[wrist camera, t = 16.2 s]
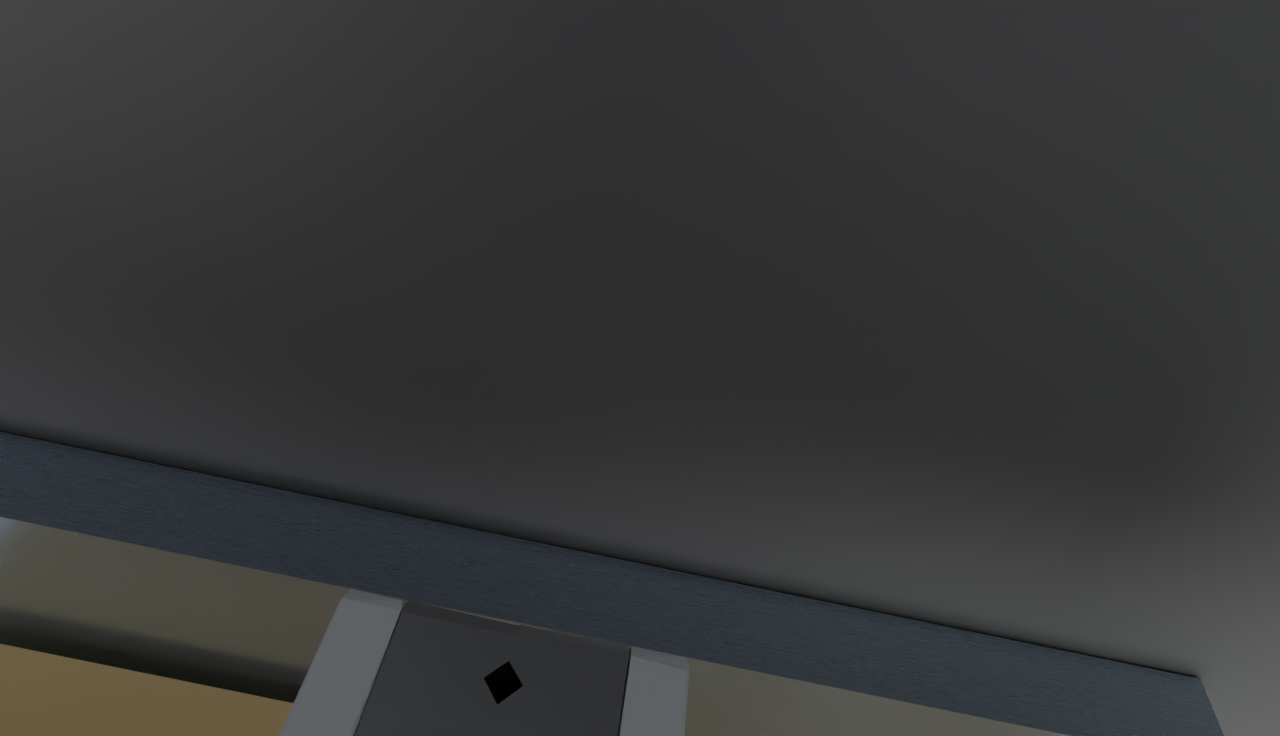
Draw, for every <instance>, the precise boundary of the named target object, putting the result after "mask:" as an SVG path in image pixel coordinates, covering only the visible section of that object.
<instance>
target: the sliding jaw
mask: <svg viewBox="0 0 1280 736" xmlns="http://www.w3.org/2000/svg"><path fill="white" fill-rule="evenodd" d="M292 705H293V703H290V702H285V701H280V700H275V699H270V698H265V697H260V696H255V695H251V694H246V693H241V692H236V691H231V690H226V689H221V688H216V687H211V686H206V685H201V684H196V683H191V682H186V681H181V680H177V679H172V678H167V677H162V676H157V675H152V674H147V673H142V672H137V671H132V670H127V669H122V668H117V667H112V666H107V665H103V664H98V663H93V662H88V661H83V660H78V659H73V658H68V657H63V656H58V655H53V654H48V653H43V652H38V651H33V650H29V649H24V648H19V647H14V646H9V645H4V644H0V736H279V734H280V732H281V730H282V727H283V725H284V723H285V721H286V719H287V716H288V714H289V712H290V710H291V708H292Z"/></svg>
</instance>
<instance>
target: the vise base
mask: <svg viewBox="0 0 1280 736" xmlns="http://www.w3.org/2000/svg"><path fill="white" fill-rule="evenodd" d="M351 588H352V589H357V590H361V591H365V592H370V593H374V594H379V595H383V596H387V597H392V598H396V599H401V600H405V601H408V600H409V601H414V602H418V603H422V604H427V605H431V606H435V607H440V608H444V609H448V610H453V611H457V612H461V613H466V614H470V615H475V616H479V617H483V618H488V619H492V620H496V621H501V622H505V623H509V624H514V625H518V626H519V624H520V625H525V626H530V627H535V628H541V629H546V630H551V631H556V632H561V633H567V634H572V635H577V636H582V637H587V638H593V639H598V640H603V641H608V642H614V643H619V644H624V645H629V649H630V648H631V646H632V647H638V648H643V649H648V650H653V651H658V652H663V653H668V654H673V655H678V656H683V657H686V658H687V661H688V664H689V667H690V669H689V682H688V695H687V708H686V721H685V734H684V736H1224V735H1223V733H1222V730H1221V728H1220V725H1219V723H1218V721H1217V718H1216V716H1215V713H1214V711H1213V708H1212V706H1211V704H1210V701H1209V699H1208V696H1207V694H1206V691H1205V689H1204V687H1203V684H1202V682H1201V679H1199V678H1194V677H1189V676H1184V675H1180V674H1175V673H1170V672H1165V671H1160V670H1155V669H1150V668H1145V667H1141V666H1136V665H1131V664H1126V663H1121V662H1116V661H1111V660H1107V659H1102V658H1097V657H1092V656H1087V655H1082V654H1077V653H1073V652H1068V651H1063V650H1058V649H1053V648H1048V647H1043V646H1039V645H1034V644H1029V643H1024V642H1019V641H1014V640H1009V639H1004V638H1000V637H995V636H990V635H985V634H980V633H975V632H970V631H966V630H961V629H956V628H951V627H946V626H941V625H936V624H932V623H927V622H922V621H917V620H912V619H907V618H902V617H898V616H893V615H888V614H883V613H878V612H873V611H868V610H863V609H859V608H854V607H849V606H844V605H839V604H834V603H829V602H825V601H820V600H815V599H810V598H805V597H800V596H795V595H791V594H786V593H781V592H776V591H771V590H766V589H761V588H757V587H752V586H747V585H742V584H737V583H732V582H727V581H722V580H718V579H713V578H708V577H703V576H698V575H693V574H688V573H684V572H679V571H674V570H669V569H664V568H659V567H654V566H650V565H645V564H640V563H635V562H630V561H625V560H620V559H616V558H611V557H606V556H601V555H596V554H591V553H586V552H581V551H577V550H572V549H567V548H562V547H557V546H552V545H547V544H543V543H538V542H533V541H528V540H523V539H518V538H513V537H509V536H504V535H499V534H494V533H489V532H484V531H479V530H475V529H470V528H465V527H460V526H455V525H450V524H445V523H440V522H436V521H431V520H426V519H421V518H416V517H411V516H406V515H402V514H397V513H392V512H387V511H382V510H377V509H372V508H368V507H363V506H358V505H353V504H348V503H343V502H338V501H334V500H329V499H324V498H319V497H314V496H309V495H304V494H300V493H295V492H290V491H285V490H280V489H275V488H270V487H265V486H261V485H256V484H251V483H246V482H241V481H236V480H231V479H227V478H222V477H217V476H212V475H207V474H202V473H197V472H193V471H188V470H183V469H178V468H173V467H168V466H163V465H159V464H154V463H149V462H144V461H139V460H134V459H129V458H124V457H120V456H115V455H110V454H105V453H100V452H95V451H90V450H86V449H81V448H76V447H71V446H66V445H61V444H56V443H52V442H47V441H42V440H37V439H32V438H27V437H22V436H18V435H13V434H8V433H3V432H0V644H4V645H9V646H14V647H19V648H24V649H29V650H33V651H38V652H43V653H48V654H53V655H58V656H63V657H68V658H73V659H78V660H83V661H88V662H93V663H98V664H103V665H107V666H112V667H117V668H122V669H127V670H132V671H137V672H142V673H147V674H152V675H157V676H162V677H167V678H172V679H177V680H181V681H186V682H191V683H196V684H201V685H206V686H211V687H216V688H221V689H226V690H231V691H236V692H241V693H246V694H251V695H255V696H260V697H265V698H270V699H275V700H280V701H285V702H290V703H294V701H295V699H296V697H297V694H298V692H299V690H300V688H301V686H302V683H303V681H304V679H305V677H306V675H307V672H308V670H309V668H310V666H311V664H312V661H313V659H314V657H315V655H316V653H317V650H318V648H319V646H320V644H321V642H322V639H323V637H324V635H325V633H326V631H327V628H328V626H329V624H330V622H331V620H332V617H333V615H334V613H335V611H336V609H337V606H338V604H339V602H340V601H341V599H342V598H343V597H344V596H345V595H346V593H347V592H348V591H349V590H350V589H351Z"/></svg>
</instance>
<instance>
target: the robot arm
mask: <svg viewBox="0 0 1280 736" xmlns="http://www.w3.org/2000/svg"><path fill="white" fill-rule="evenodd" d="M689 669H690V667H689V664H688V661H687V658H686V657H683V656H678V655H673V654H668V653H663V652H658V651H653V650H648V649H643V648H638V647H632V646H631V648H630V649H629V645H624V644H619V643H614V642H608V641H603V640H598V639H593V638H587V637H582V636H577V635H572V634H567V633H561V632H556V631H551V630H546V629H541V628H535V627H530V626H525V625H520V624H519V626H518V625H514V624H509V623H505V622H501V621H496V620H492V619H488V618H483V617H479V616H475V615H470V614H466V613H461V612H457V611H453V610H448V609H444V608H440V607H435V606H431V605H427V604H422V603H418V602H414V601H409V600H408V601H405V600H401V599H396V598H392V597H387V596H383V595H379V594H374V593H370V592H365V591H361V590H357V589H352V588H351V589H350V590H349V591H348V592H347V593H346V595H345V596H344V597H343V598H342V599H341V601H340V602H339V604H338V606H337V609H336V611H335V613H334V615H333V617H332V620H331V622H330V624H329V626H328V628H327V631H326V633H325V635H324V637H323V639H322V642H321V644H320V646H319V648H318V650H317V653H316V655H315V657H314V659H313V661H312V664H311V666H310V668H309V670H308V672H307V675H306V677H305V679H304V681H303V683H302V686H301V688H300V690H299V692H298V694H297V697H296V699H295V701H294V703H293V705H292V708H291V710H290V712H289V714H288V716H287V719H286V721H285V723H284V725H283V727H282V730H281V732H280V734H279V736H684V734H685V721H686V708H687V695H688V682H689Z"/></svg>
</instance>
